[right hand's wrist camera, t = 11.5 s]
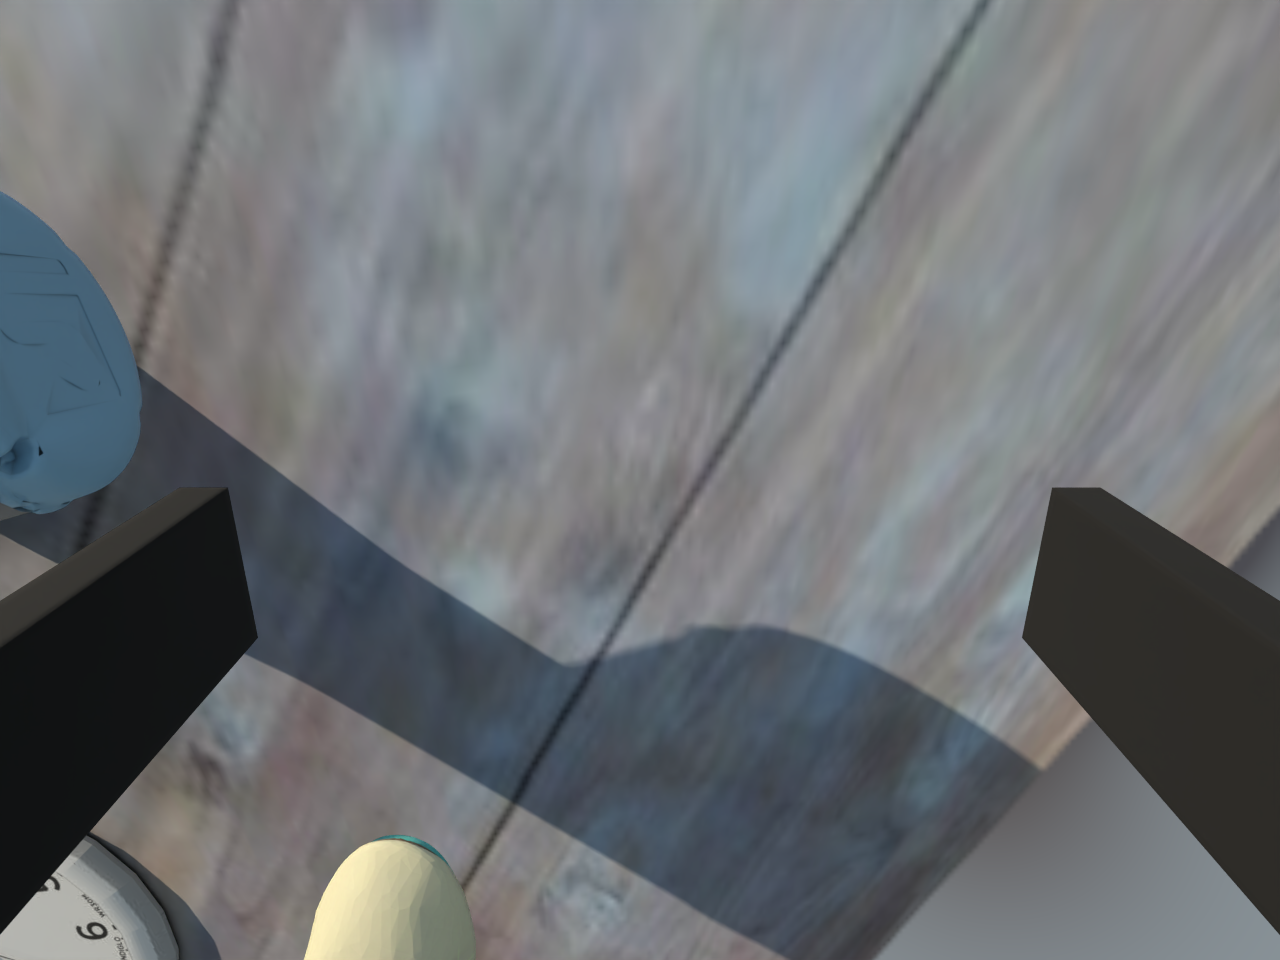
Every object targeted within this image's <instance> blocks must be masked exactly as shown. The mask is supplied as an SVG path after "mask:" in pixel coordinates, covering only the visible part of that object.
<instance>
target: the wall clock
mask: <svg viewBox="0 0 1280 960" xmlns="http://www.w3.org/2000/svg"><path fill="white" fill-rule="evenodd" d="M0 960H179V949H178V946H177V943H176V940H175V938H174V935H173V933H172V930H171V928H170V925H169V922H168V920H167V917H166V915H165V912H164V910H163V909H162V908H161V906H160V905H159V904H158V902H157V901H156V900H155V898H154V897H153V896H152V895H151V893H150V892H149V891H148V889H147V888H146V887H145V885H144V884H143V883H142V881H141V880H140V879H139V877H138V876H137V875H136V874H135V873H134V872H133V871H132V870H130V869H129V868H128V867H127V866H126V865H124V864H123V863H122V862H121V861H120V860H118V859H117V858H116V857H115V856H114V855H112V854H111V853H110V852H109V851H108V850H106V849H105V848H104V847H103V846H102V845H100V844H99V843H98V842H97V841H96V840H94V839H92V838H90V837H88V836H87V835H86V836H85V838H84V839H83V840H82V841H81V842H80V843H79V845H78V846H77V847H76V848H75V849H74V850H73V851H72V853H71V854H70V855H69V856H68V857H67V858H66V860H65V861H64V862H63V863H62V864H61V865H60V866H59V868H58V869H57V870H56V871H55V872H54V873H53V875H52V876H51V877H50V878H49V879H48V880H47V881H46V883H45V884H44V885H43V886H42V887H41V888H40V889H39V891H38V892H37V893H36V894H35V895H34V896H33V898H32V899H31V900H30V901H29V902H28V903H27V904H26V906H25V907H24V908H23V909H22V910H21V911H20V913H19V914H18V915H17V916H16V917H15V918H14V919H13V921H12V922H11V923H10V924H9V925H8V926H7V928H6V929H5V930H4V931H3V932H2V933H1V934H0Z"/></svg>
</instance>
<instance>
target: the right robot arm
mask: <svg viewBox="0 0 1280 960" xmlns="http://www.w3.org/2000/svg"><path fill="white" fill-rule="evenodd" d="M257 638H258V636H257V631H256V626H255V621H254V616H253V611H252V606H251V601H250V596H249V591H248V586H247V581H246V576H245V571H244V566H243V561H242V556H241V551H240V546H239V541H238V536H237V531H236V526H235V521H234V516H233V511H232V506H231V501H230V496H229V491H228V488H178V489H177V490H175V491H174V492H172V493H170V494H169V495H167V496H166V497H164V498H162V499H161V500H159V501H158V502H156V503H155V504H153V505H151V506H150V507H148V508H147V509H145V510H143V511H142V512H140V513H139V514H137V515H136V516H134V517H132V518H131V519H129V520H128V521H126V522H124V523H123V524H121V525H120V526H118V527H117V528H115V529H113V530H112V531H110V532H109V533H107V534H105V535H104V536H102V537H101V538H99V539H98V540H96V541H94V542H93V543H91V544H90V545H88V546H86V547H85V548H83V549H82V550H80V551H79V552H77V553H75V554H74V555H72V556H71V557H69V558H67V559H66V560H64V561H63V562H61V563H60V564H58V565H56V566H55V567H53V568H52V569H50V570H48V571H47V572H45V573H44V574H42V575H41V576H39V577H37V578H36V579H34V580H33V581H31V582H29V583H28V584H26V585H25V586H23V587H22V588H20V589H18V590H17V591H15V592H14V593H12V594H10V595H9V596H7V597H6V598H4V599H3V600H1V601H0V934H1V933H2V932H3V931H4V930H5V929H6V928H7V926H8V925H9V924H10V923H11V922H12V921H13V919H14V918H15V917H16V916H17V915H18V914H19V913H20V911H21V910H22V909H23V908H24V907H25V906H26V904H27V903H28V902H29V901H30V900H31V899H32V898H33V896H34V895H35V894H36V893H37V892H38V891H39V889H40V888H41V887H42V886H43V885H44V884H45V883H46V881H47V880H48V879H49V878H50V877H51V876H52V875H53V873H54V872H55V871H56V870H57V869H58V868H59V866H60V865H61V864H62V863H63V862H64V861H65V860H66V858H67V857H68V856H69V855H70V854H71V853H72V851H73V850H74V849H75V848H76V847H77V846H78V845H79V843H80V842H81V841H82V840H83V839H84V838H85V836H86V835H87V834H88V833H89V832H90V831H91V830H92V828H93V827H94V826H95V825H96V824H97V823H98V821H99V820H100V819H101V818H102V817H103V816H104V815H105V813H106V812H107V811H108V810H109V809H110V808H111V806H112V805H113V804H114V803H115V802H116V801H117V800H118V798H119V797H120V796H121V795H122V794H123V793H124V791H125V790H126V789H127V788H128V787H129V786H130V785H131V783H132V782H133V781H134V780H135V779H136V778H137V776H138V775H139V774H140V773H141V772H142V771H143V770H144V768H145V767H146V766H147V765H148V764H149V763H150V761H151V760H152V759H153V758H154V757H155V756H156V755H157V753H158V752H159V751H160V750H161V749H162V748H163V746H164V745H165V744H166V743H167V742H168V741H169V740H170V738H171V737H172V736H173V735H174V734H175V733H176V731H177V730H178V729H179V728H180V727H181V726H182V725H183V723H184V722H185V721H186V720H187V719H188V718H189V716H190V715H191V714H192V713H193V712H194V711H195V710H196V708H197V707H198V706H199V705H200V704H201V703H202V701H203V700H204V699H205V698H206V697H207V696H208V695H209V693H210V692H211V691H212V690H213V689H214V688H215V687H216V685H217V684H218V683H219V682H220V681H221V680H222V678H223V677H224V676H225V675H226V674H227V673H228V672H229V670H230V669H231V668H232V667H233V666H234V665H235V663H236V662H237V661H238V660H239V659H240V658H241V657H242V655H243V654H244V653H245V652H246V651H247V650H248V648H249V647H250V646H251V645H252V644H253V643H254V642H255V640H256V639H257ZM1022 638H1023V639H1024V640H1025V642H1026V643H1027V644H1028V645H1029V646H1030V647H1031V648H1032V650H1033V651H1034V652H1035V653H1036V654H1037V655H1038V657H1039V658H1040V659H1041V660H1042V661H1043V662H1044V663H1045V665H1046V666H1047V667H1048V668H1049V669H1050V670H1051V672H1052V673H1053V674H1054V675H1055V676H1056V677H1057V678H1058V680H1059V681H1060V682H1061V683H1062V684H1063V685H1064V687H1065V688H1066V689H1067V690H1068V691H1069V692H1070V693H1071V695H1072V696H1073V697H1074V698H1075V699H1076V700H1077V701H1078V703H1079V704H1080V705H1081V706H1082V707H1083V708H1084V710H1085V711H1086V712H1087V713H1088V714H1089V715H1090V716H1091V718H1092V719H1093V720H1094V721H1095V722H1096V723H1097V725H1098V726H1099V727H1100V728H1101V729H1102V730H1103V731H1104V733H1105V734H1106V735H1107V736H1108V737H1109V738H1110V740H1111V741H1112V742H1113V743H1114V744H1115V745H1116V746H1117V748H1118V749H1119V750H1120V751H1121V752H1122V753H1123V755H1124V756H1125V757H1126V758H1127V759H1128V760H1129V761H1130V763H1131V764H1132V765H1133V766H1134V767H1135V768H1136V769H1137V771H1138V772H1139V773H1140V774H1141V775H1142V776H1143V778H1144V779H1145V780H1146V781H1147V782H1148V783H1149V785H1150V786H1151V787H1152V788H1153V789H1154V790H1155V791H1156V793H1157V794H1158V795H1159V796H1160V797H1161V798H1162V800H1163V801H1164V802H1165V803H1166V804H1167V805H1168V806H1169V808H1170V809H1171V810H1172V811H1173V812H1174V813H1175V814H1176V816H1177V817H1178V818H1179V819H1180V820H1181V821H1182V823H1183V824H1184V825H1185V826H1186V827H1187V828H1188V829H1189V831H1190V832H1191V833H1192V834H1193V835H1194V836H1195V838H1196V839H1197V840H1198V841H1199V842H1200V843H1201V845H1202V846H1203V847H1204V848H1205V849H1206V850H1207V851H1208V853H1209V854H1210V855H1211V856H1212V857H1213V858H1214V860H1215V861H1216V862H1217V863H1218V864H1219V865H1220V866H1221V868H1222V869H1223V870H1224V871H1225V872H1226V873H1227V875H1228V876H1229V877H1230V878H1231V879H1232V880H1233V881H1234V883H1235V884H1236V885H1237V886H1238V887H1239V888H1240V889H1241V891H1242V892H1243V893H1244V894H1245V895H1246V896H1247V898H1248V899H1249V900H1250V901H1251V902H1252V903H1253V904H1254V906H1255V907H1256V908H1257V909H1258V910H1259V911H1260V913H1261V914H1262V915H1263V916H1264V917H1265V918H1266V919H1267V921H1268V922H1269V923H1270V924H1271V925H1272V926H1273V927H1274V929H1275V930H1276V931H1277V932H1278V933H1279V934H1280V601H1279V600H1277V599H1276V598H1274V597H1273V596H1271V595H1270V594H1268V593H1266V592H1265V591H1263V590H1262V589H1260V588H1258V587H1257V586H1255V585H1254V584H1252V583H1250V582H1249V581H1247V580H1246V579H1244V578H1243V577H1241V576H1239V575H1238V574H1236V573H1235V572H1233V571H1232V570H1230V569H1228V568H1227V567H1225V566H1224V565H1222V564H1220V563H1219V562H1217V561H1216V560H1214V559H1213V558H1211V557H1209V556H1208V555H1206V554H1205V553H1203V552H1201V551H1200V550H1198V549H1197V548H1195V547H1194V546H1192V545H1190V544H1189V543H1187V542H1186V541H1184V540H1182V539H1181V538H1179V537H1178V536H1176V535H1175V534H1173V533H1171V532H1170V531H1168V530H1167V529H1165V528H1163V527H1162V526H1160V525H1159V524H1157V523H1156V522H1154V521H1152V520H1151V519H1149V518H1148V517H1146V516H1144V515H1143V514H1141V513H1140V512H1138V511H1137V510H1135V509H1133V508H1132V507H1130V506H1129V505H1127V504H1125V503H1124V502H1122V501H1121V500H1119V499H1118V498H1116V497H1114V496H1113V495H1111V494H1110V493H1108V492H1106V491H1105V490H1103V489H1102V488H1052V491H1051V496H1050V501H1049V506H1048V511H1047V516H1046V521H1045V526H1044V531H1043V536H1042V541H1041V546H1040V551H1039V556H1038V561H1037V566H1036V571H1035V576H1034V581H1033V586H1032V591H1031V596H1030V601H1029V606H1028V611H1027V616H1026V621H1025V626H1024V631H1023V636H1022Z"/></svg>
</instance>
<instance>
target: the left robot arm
mask: <svg viewBox="0 0 1280 960" xmlns="http://www.w3.org/2000/svg"><path fill="white" fill-rule="evenodd" d="M141 408H142V393H141V385H140V380H139V375H138V370H137V366H136V362H135V359H134V356H133V353H132V350H131V347H130V344H129V341H128V339H127V336H126V334H125V332H124V329H123V327H122V325H121V323H120V320H119V319H118V317H117V315H116V313H115V311H114V309H113V307H112V305H111V303H110V302H109V300H108V298H107V296H106V295H105V293H104V292H103V290H102V288H101V287H100V285H99V284H98V282H97V281H96V280H95V278H94V277H93V275H92V274H91V272H90V271H89V270H88V269H87V267H86V266H85V265H84V263H83V262H82V261H81V260H80V258H79V257H78V256H77V255H76V254H75V253H74V252H72V251H71V250H70V249H69V248H68V247H67V246H66V245H65V244H64V243H63V241H62V240H61V239H60V237H59V236H58V235H57V234H56V233H55V231H54V230H53V229H51V228H50V227H49V226H48V225H47V224H46V223H45V222H43V221H42V220H41V219H40V218H39V217H37V216H36V215H35V214H34V213H32V212H31V211H30V210H29V209H27V208H26V207H24V206H23V205H22V204H20V203H19V202H17V201H16V200H14V199H13V198H11V197H10V196H8V195H6V194H4V193H3V192H1V191H0V521H1V520H5V519H8V518H12V517H15V516H19V515H22V514H26V513H29V512H32V513H36V514H44V513H51V512H54V511H57V510H60V509H62V508H64V507H65V506H67V505H68V504H69V503H70V502H71V501H72V500H74V499H77V498H80V497H83V496H85V495H88V494H91V493H93V492H96V491H98V490H100V489H102V488H103V487H105V486H107V485H108V484H110V483H111V482H112V481H113V480H114V479H116V478H117V477H118V476H119V475H120V473H121V472H122V471H123V470H124V469H125V467H126V466H127V464H128V463H129V461H130V460H131V458H132V456H133V454H134V452H135V449H136V446H137V443H138V440H139V436H140V431H141V430H140V427H141V423H140V410H141Z"/></svg>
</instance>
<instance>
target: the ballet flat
mask: <svg viewBox="0 0 1280 960" xmlns="http://www.w3.org/2000/svg"><path fill="white" fill-rule="evenodd" d="M304 960H476V939H475V933H474V928H473V923H472V919H471V915H470V911H469V907H468V904H467V900H466V897H465V894H464V892H463V890H462V888H461V886H460V884H459V882H458V880H457V879H456V877H455V875H454V873H453V871H452V870H451V868H450V866H449V865H448V863H447V861H446V860H445V859H444V858H443V856H442V855H441V854H440V853H439V852H438V851H437V850H436V849H435V848H433V847H432V846H431V845H429V844H428V843H426V842H424V841H422V840H419V839H417V838H414V837H410V836H405V835H389V836H384V837H380V838H378V839H376V840H374V841H372V842H370V843H368V844H365V845H363V846H361V847H360V848H358V849H357V850H356V851H354V852H353V853H352V854H351V855H350V856H349V857H348V858H347V859H346V860H345V861H344V862H343V863H342V865H341V866H340V867H339V868H338V870H337V871H336V873H335V875H334V876H333V878H332V880H331V881H330V883H329V885H328V887H327V888H326V890H325V892H324V894H323V897H322V899H321V902H320V904H319V906H318V908H317V910H316V915H315V920H314V923H313V927H312V932H311V937H310V940H309V944H308V948H307V951H306V955H305V958H304Z"/></svg>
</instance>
